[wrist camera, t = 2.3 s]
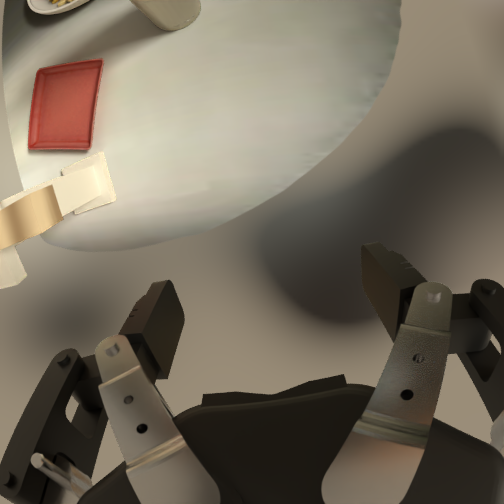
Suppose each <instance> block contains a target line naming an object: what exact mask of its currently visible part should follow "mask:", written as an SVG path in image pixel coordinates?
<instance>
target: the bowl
mask: <svg viewBox="0 0 504 504" xmlns="http://www.w3.org/2000/svg"><path fill="white" fill-rule="evenodd" d="M27 1H28V5H29V7H30V8H31V9H32V10H33V11H34V12H37V13H40V14H46V15H51V14H58V13H62V12H65V11H68V10H71V9H73V8H76V7H78V6H80V5H82V4H84V3H85V2H87V1H89V0H27Z"/></svg>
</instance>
